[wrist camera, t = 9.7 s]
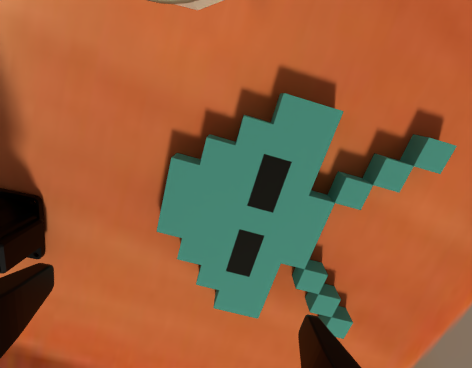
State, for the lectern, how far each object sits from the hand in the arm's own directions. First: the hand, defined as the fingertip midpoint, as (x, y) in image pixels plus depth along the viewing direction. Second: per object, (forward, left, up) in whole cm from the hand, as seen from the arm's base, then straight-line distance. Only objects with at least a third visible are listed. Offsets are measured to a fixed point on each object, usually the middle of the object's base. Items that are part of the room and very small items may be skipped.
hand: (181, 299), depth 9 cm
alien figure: (+6, -2, -14) cm, 15 cm away
